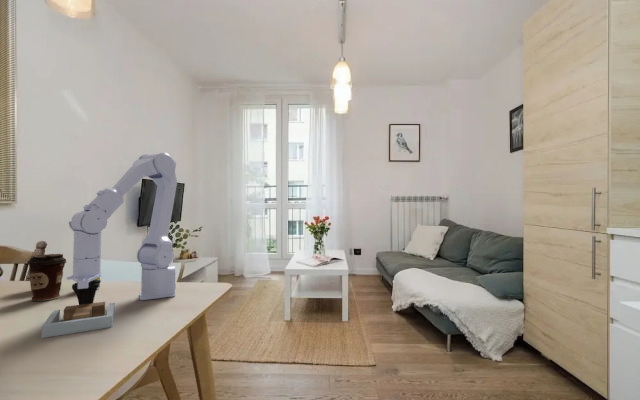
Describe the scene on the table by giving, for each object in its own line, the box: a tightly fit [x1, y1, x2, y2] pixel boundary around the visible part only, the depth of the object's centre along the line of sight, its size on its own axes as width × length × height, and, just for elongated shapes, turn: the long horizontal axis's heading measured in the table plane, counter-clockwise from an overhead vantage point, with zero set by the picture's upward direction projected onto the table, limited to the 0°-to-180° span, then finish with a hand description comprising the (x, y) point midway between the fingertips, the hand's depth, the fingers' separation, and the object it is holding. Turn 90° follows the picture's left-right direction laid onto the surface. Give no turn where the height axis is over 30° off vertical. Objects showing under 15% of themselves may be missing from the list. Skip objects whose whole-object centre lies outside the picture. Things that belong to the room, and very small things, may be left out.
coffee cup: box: [26, 253, 67, 302], centre depth 93 cm, size 9×8×13 cm
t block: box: [62, 301, 106, 322], centre depth 75 cm, size 9×8×3 cm
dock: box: [41, 302, 116, 339], centre depth 74 cm, size 11×12×2 cm
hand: (86, 310), depth 80 cm, fingers closed
